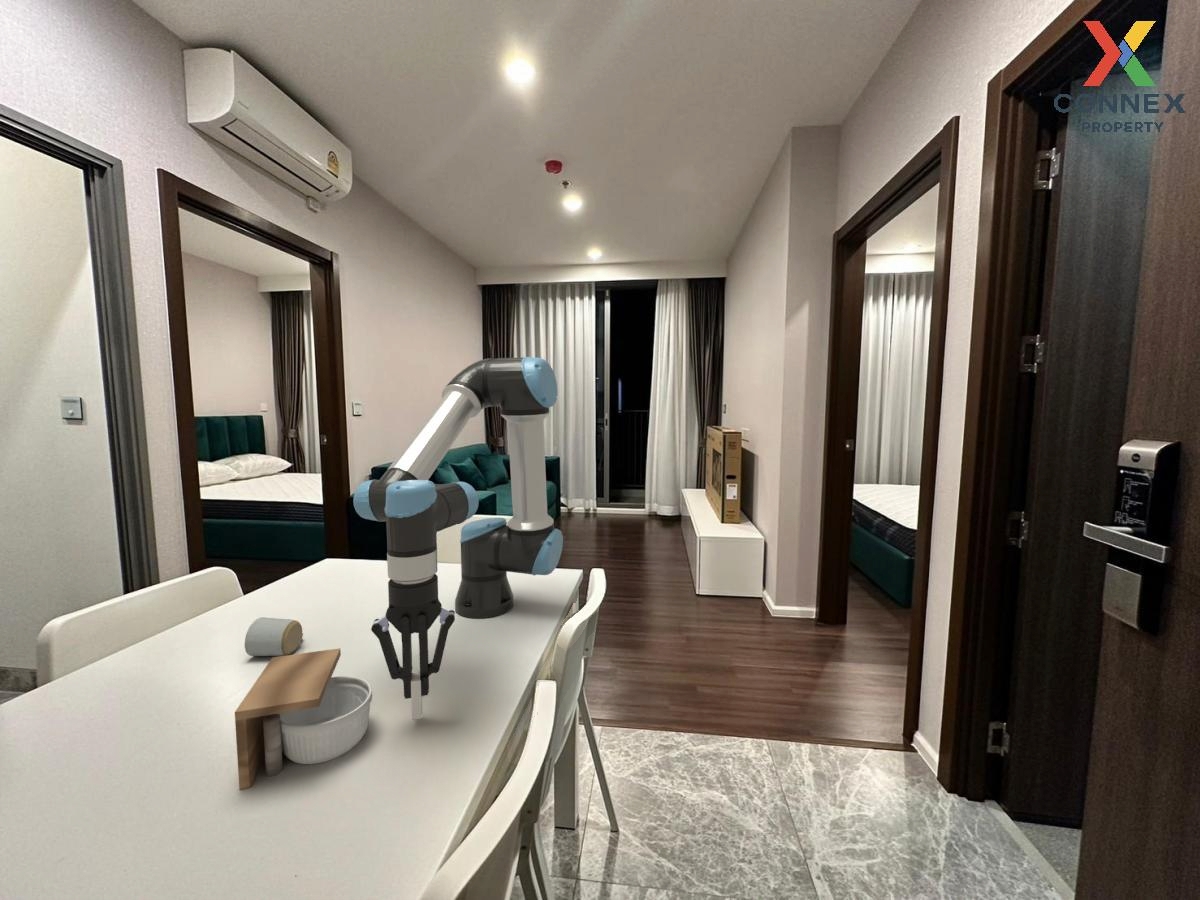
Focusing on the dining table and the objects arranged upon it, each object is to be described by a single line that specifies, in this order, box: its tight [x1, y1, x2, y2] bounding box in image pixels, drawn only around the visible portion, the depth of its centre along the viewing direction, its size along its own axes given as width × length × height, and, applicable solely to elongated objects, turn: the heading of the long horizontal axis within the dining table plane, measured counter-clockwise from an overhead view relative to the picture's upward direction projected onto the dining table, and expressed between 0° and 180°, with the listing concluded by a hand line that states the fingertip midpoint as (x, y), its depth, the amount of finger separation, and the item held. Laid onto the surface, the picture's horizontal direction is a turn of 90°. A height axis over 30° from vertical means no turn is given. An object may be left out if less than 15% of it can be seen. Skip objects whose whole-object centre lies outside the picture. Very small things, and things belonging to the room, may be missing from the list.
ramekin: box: [278, 675, 373, 765], centre depth 75 cm, size 13×13×7 cm
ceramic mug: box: [244, 616, 304, 657], centre depth 103 cm, size 11×8×8 cm
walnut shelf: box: [234, 648, 342, 790], centre depth 73 cm, size 10×15×11 cm, turn 18°
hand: (417, 713), depth 79 cm, fingers closed
